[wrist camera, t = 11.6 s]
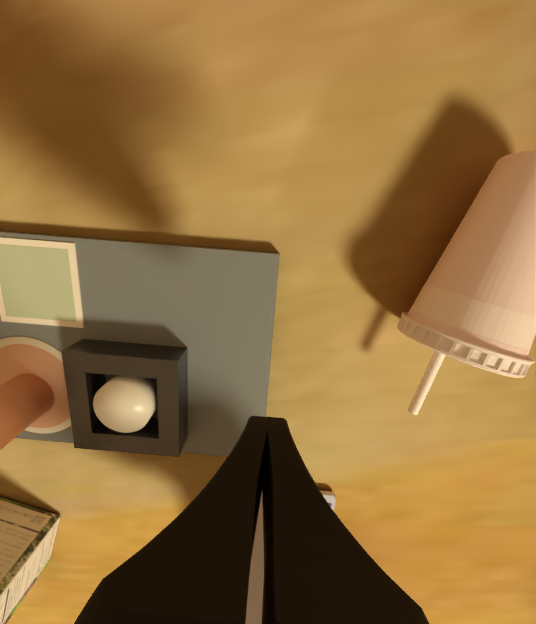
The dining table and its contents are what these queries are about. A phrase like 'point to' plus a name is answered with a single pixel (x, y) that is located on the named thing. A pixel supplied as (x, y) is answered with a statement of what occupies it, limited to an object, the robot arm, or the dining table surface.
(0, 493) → the dining table surface
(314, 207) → the dining table surface
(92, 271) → the picture board
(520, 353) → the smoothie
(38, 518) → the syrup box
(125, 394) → the button
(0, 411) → the terracotta marker
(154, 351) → the button collar
